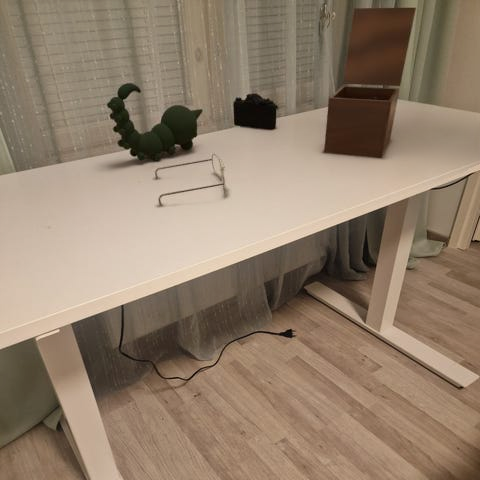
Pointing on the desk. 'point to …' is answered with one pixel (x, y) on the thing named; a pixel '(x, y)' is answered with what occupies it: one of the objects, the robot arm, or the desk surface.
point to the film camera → (255, 112)
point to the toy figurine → (161, 136)
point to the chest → (360, 120)
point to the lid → (378, 46)
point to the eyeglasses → (195, 188)
